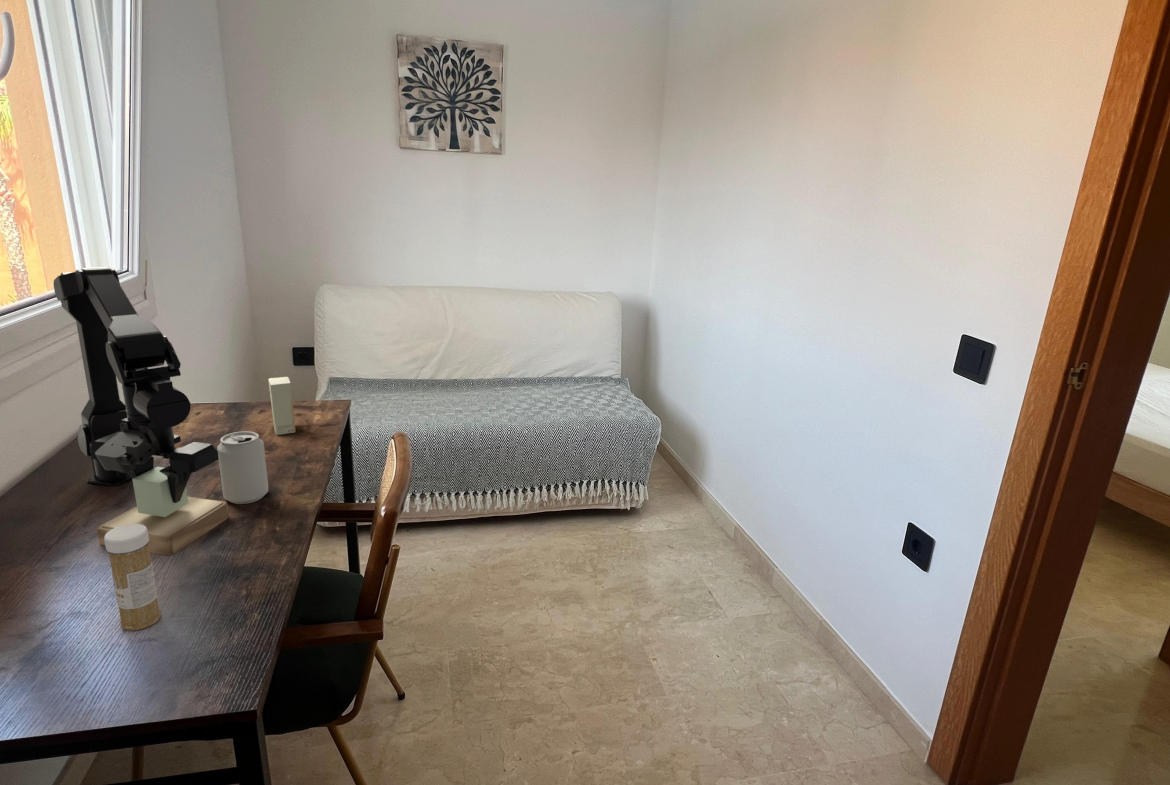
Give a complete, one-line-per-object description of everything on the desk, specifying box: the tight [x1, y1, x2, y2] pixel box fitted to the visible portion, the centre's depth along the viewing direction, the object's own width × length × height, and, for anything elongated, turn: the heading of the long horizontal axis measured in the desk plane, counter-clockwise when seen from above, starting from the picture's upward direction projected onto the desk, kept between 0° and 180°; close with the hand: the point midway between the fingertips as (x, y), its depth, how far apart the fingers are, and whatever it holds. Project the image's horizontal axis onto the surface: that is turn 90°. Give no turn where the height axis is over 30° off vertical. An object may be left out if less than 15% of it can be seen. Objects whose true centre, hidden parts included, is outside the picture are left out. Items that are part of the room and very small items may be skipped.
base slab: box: [96, 496, 230, 557], centre depth 109 cm, size 13×13×3 cm
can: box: [216, 430, 269, 505], centre depth 120 cm, size 8×8×12 cm
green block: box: [131, 466, 189, 517], centre depth 108 cm, size 5×5×6 cm
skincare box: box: [268, 376, 296, 436], centre depth 153 cm, size 6×4×12 cm
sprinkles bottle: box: [104, 524, 162, 631], centre depth 85 cm, size 5×5×13 cm
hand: (162, 499), depth 108 cm, fingers closed on green block, 5 cm apart
